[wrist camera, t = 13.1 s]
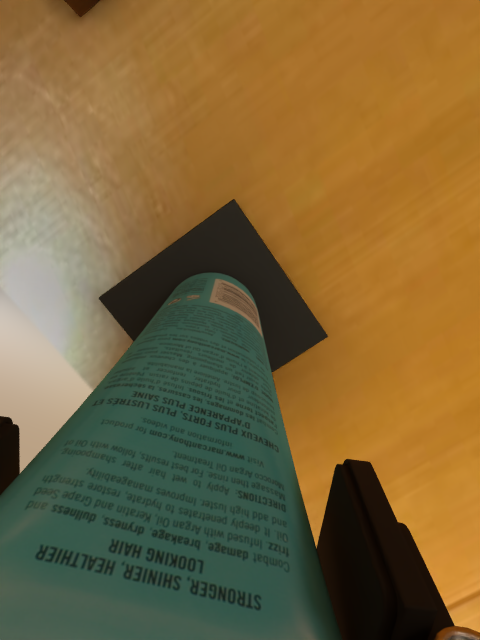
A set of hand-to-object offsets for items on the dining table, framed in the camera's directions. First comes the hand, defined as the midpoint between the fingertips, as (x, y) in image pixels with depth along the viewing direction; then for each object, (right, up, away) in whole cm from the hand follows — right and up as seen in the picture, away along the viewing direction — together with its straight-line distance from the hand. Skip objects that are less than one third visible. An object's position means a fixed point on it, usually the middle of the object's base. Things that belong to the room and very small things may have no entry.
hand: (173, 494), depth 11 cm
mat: (0, +4, +15) cm, 15 cm away
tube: (0, +4, +14) cm, 14 cm away
